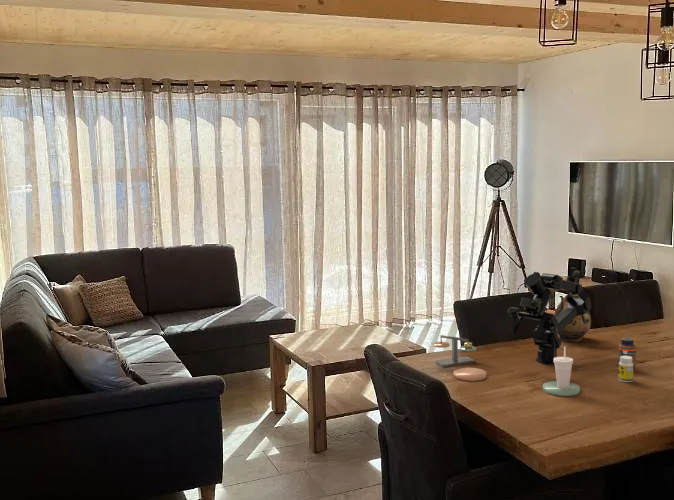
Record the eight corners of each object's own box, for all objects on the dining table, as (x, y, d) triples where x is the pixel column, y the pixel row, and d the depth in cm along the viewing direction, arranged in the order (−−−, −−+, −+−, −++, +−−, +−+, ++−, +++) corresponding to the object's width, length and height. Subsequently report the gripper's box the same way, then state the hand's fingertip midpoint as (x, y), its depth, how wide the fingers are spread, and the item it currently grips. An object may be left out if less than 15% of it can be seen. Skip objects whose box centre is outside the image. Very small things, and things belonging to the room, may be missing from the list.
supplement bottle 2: (615, 378, 235) (616, 355, 234) (628, 377, 235) (629, 354, 234) (622, 382, 230) (623, 359, 229) (635, 382, 231) (636, 358, 230)
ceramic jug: (586, 345, 277) (587, 275, 273) (549, 341, 285) (549, 273, 281) (594, 336, 291) (595, 269, 287) (558, 332, 299) (559, 267, 295)
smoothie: (577, 388, 223) (577, 348, 221) (561, 390, 221) (561, 350, 219) (565, 382, 229) (565, 343, 227) (549, 385, 227) (549, 345, 225)
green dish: (563, 382, 233) (563, 379, 233) (587, 392, 222) (587, 389, 221) (535, 387, 229) (535, 384, 229) (558, 398, 218) (558, 394, 217)
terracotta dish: (475, 369, 251) (475, 366, 251) (493, 378, 240) (493, 375, 240) (447, 373, 247) (447, 370, 247) (464, 382, 236) (464, 379, 236)
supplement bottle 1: (627, 372, 242) (628, 342, 240) (614, 367, 247) (614, 338, 245) (638, 369, 244) (639, 339, 243) (625, 365, 250) (626, 336, 248)
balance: (470, 357, 265) (470, 328, 264) (479, 362, 259) (479, 332, 258) (430, 363, 259) (429, 334, 258) (438, 368, 253) (437, 337, 252)
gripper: (510, 286, 253) (493, 319, 247) (554, 292, 239) (537, 327, 234) (521, 303, 259) (505, 335, 254) (565, 309, 245) (549, 344, 240)
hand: (523, 335), depth 245 cm, fingers open, 9 cm apart
